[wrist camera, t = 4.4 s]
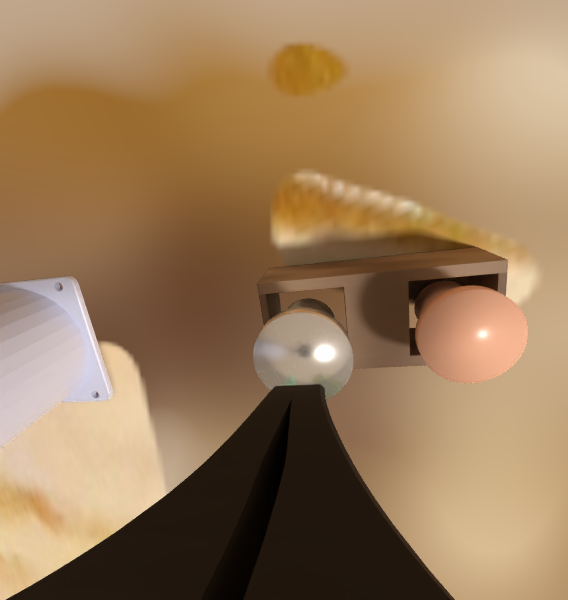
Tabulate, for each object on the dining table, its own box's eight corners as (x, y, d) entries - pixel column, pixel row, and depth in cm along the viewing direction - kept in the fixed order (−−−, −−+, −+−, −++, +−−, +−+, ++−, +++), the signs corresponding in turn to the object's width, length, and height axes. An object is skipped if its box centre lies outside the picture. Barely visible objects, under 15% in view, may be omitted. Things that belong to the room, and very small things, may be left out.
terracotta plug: (402, 345, 16) (419, 385, 13) (399, 271, 15) (418, 295, 12) (483, 340, 16) (524, 381, 12) (487, 263, 14) (532, 285, 11)
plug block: (280, 345, 19) (271, 372, 16) (269, 268, 18) (257, 283, 15) (474, 333, 17) (501, 361, 14) (477, 247, 16) (508, 259, 13)
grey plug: (275, 360, 16) (261, 404, 13) (264, 289, 15) (246, 317, 12) (352, 356, 16) (356, 401, 12) (345, 281, 15) (349, 309, 11)
